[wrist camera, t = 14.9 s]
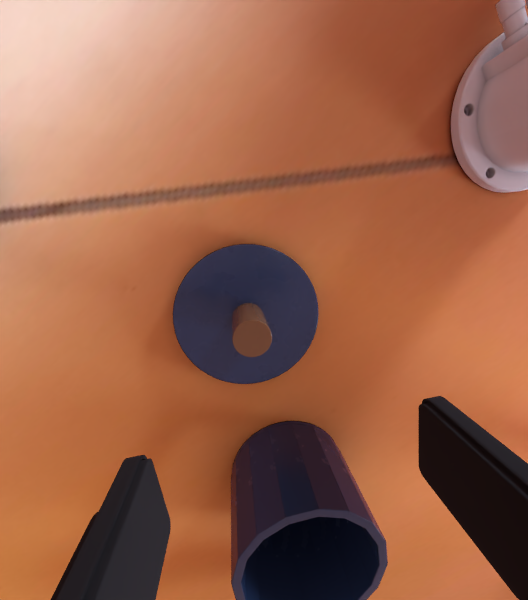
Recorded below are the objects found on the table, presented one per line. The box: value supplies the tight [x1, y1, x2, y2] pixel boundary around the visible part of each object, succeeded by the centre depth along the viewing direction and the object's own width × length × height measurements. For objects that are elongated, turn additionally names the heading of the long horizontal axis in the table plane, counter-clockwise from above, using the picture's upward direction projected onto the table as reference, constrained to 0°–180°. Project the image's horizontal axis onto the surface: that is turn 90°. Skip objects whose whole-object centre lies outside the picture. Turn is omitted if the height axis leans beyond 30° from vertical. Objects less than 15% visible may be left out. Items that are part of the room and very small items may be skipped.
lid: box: [173, 244, 318, 384], centre depth 22 cm, size 13×13×6 cm
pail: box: [231, 421, 388, 600], centre depth 25 cm, size 12×12×10 cm
